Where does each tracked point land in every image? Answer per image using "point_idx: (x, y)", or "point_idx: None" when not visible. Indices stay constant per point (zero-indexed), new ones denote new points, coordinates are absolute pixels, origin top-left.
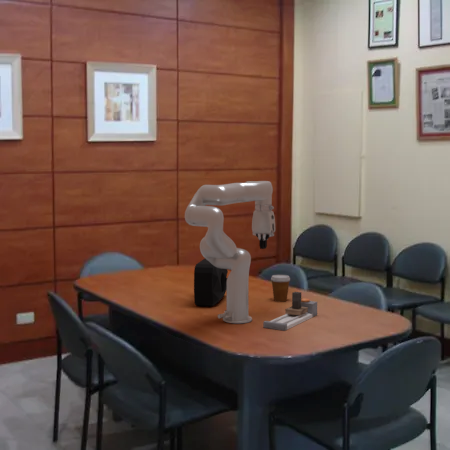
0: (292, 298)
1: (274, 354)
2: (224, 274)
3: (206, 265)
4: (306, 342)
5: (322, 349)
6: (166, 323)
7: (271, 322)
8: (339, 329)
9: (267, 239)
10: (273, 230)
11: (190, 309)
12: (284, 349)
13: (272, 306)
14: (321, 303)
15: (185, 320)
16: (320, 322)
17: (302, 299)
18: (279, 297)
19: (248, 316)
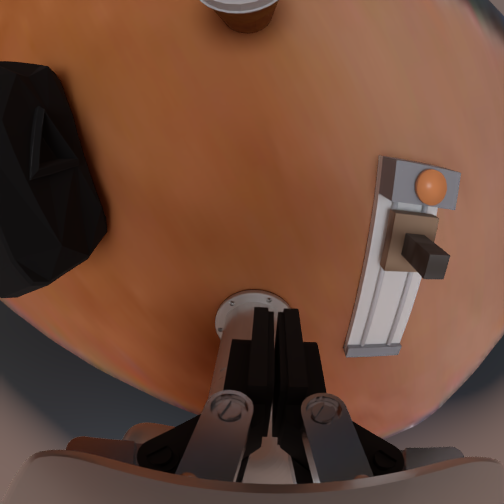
0: (416, 269)
1: (392, 431)
2: (39, 165)
3: (6, 277)
4: (434, 378)
5: (453, 389)
6: (142, 386)
7: (366, 354)
8: (489, 280)
9: (335, 401)
10: (487, 485)
11: (85, 272)
12: (403, 415)
13: (267, 107)
14: (392, 11)
15: (151, 361)
16: (457, 243)
17: (427, 194)
18: (254, 28)
19: (276, 304)
